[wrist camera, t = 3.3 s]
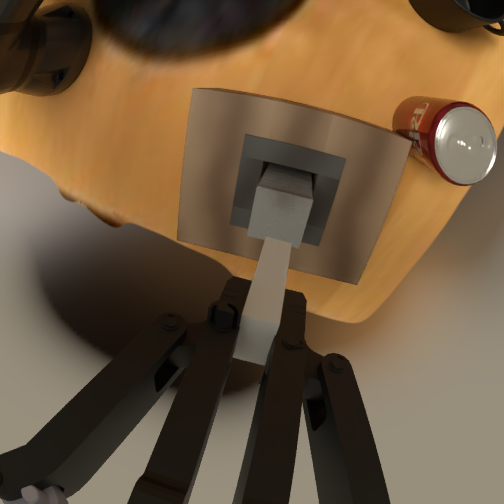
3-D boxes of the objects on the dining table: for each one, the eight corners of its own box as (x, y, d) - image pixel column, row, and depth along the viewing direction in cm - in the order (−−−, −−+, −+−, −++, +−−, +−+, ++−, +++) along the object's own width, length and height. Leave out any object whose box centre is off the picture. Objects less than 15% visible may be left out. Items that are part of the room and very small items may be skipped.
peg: (261, 199, 30) (247, 235, 23) (269, 161, 27) (256, 186, 21) (301, 209, 29) (298, 248, 23) (311, 171, 27) (313, 200, 21)
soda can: (402, 163, 30) (442, 199, 20) (381, 105, 28) (419, 113, 18) (452, 146, 28) (505, 176, 18) (434, 89, 25) (488, 94, 15)
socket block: (200, 211, 38) (175, 241, 31) (217, 88, 30) (191, 88, 23) (349, 248, 37) (357, 286, 30) (389, 130, 29) (413, 142, 22)
